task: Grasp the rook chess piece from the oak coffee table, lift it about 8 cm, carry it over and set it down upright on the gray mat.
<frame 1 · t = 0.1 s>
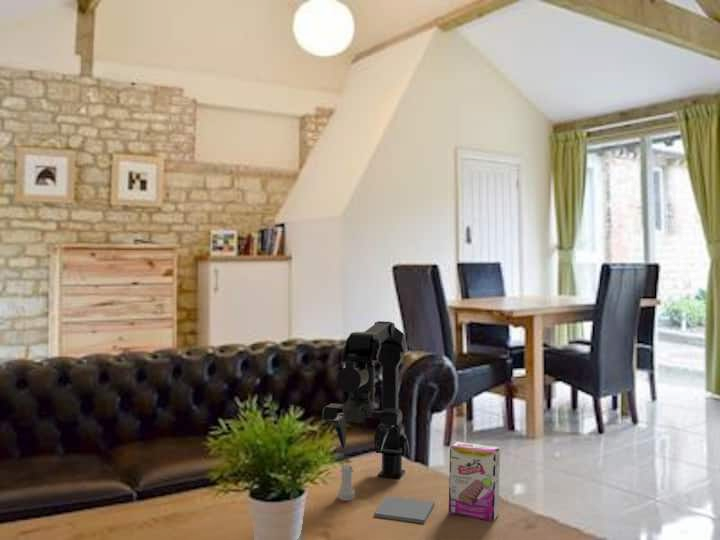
hand: (361, 449, 151), 14 cm above the table, fingers open, 9 cm apart
gray mat: (405, 510, 151), on the table
candy bar box: (473, 515, 149), on the table
rook chess piece: (346, 499, 159), on the table
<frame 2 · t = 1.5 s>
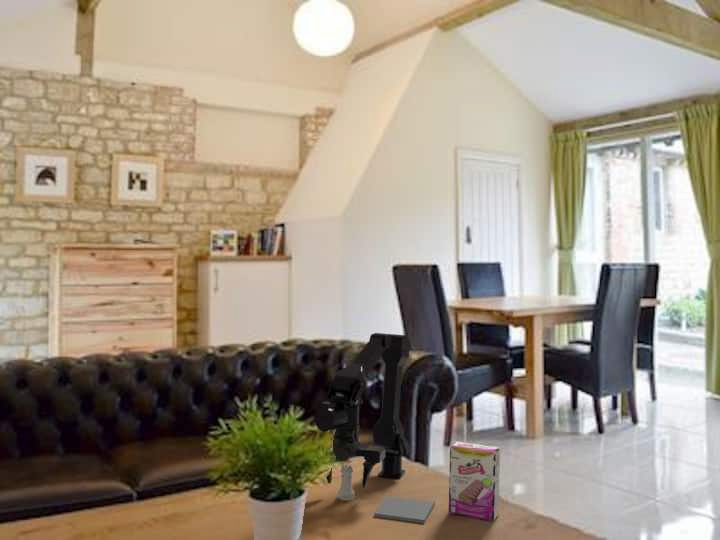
hand: (346, 485, 159), 3 cm above the table, fingers open, 9 cm apart
nothing on the table moved.
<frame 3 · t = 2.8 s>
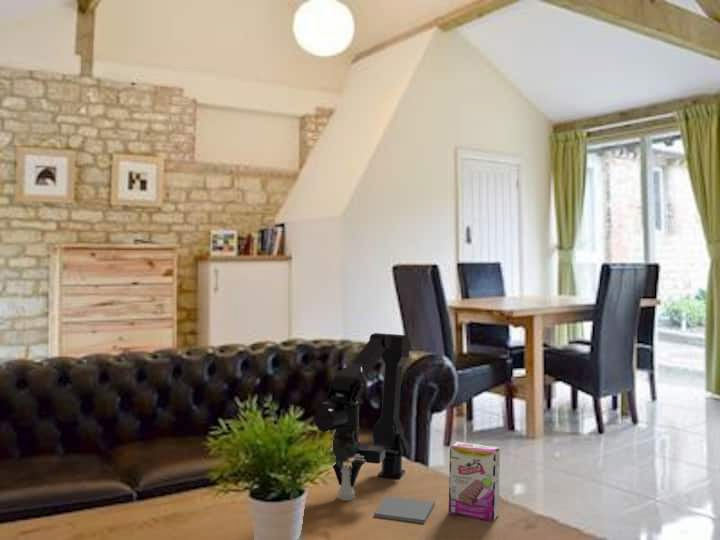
hand: (346, 485, 159), 3 cm above the table, fingers closed on rook chess piece, 3 cm apart
rook chess piece: (346, 499, 159), on the table, touching gripper
everything else where it was.
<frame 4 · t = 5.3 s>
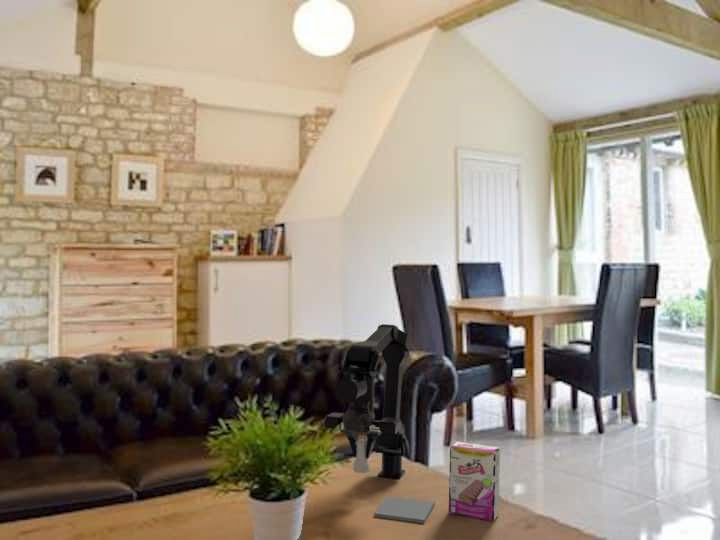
hand: (361, 457, 157), 11 cm above the table, fingers closed on rook chess piece, 3 cm apart
rook chess piece: (361, 471, 157), point 7 cm above the table, touching gripper
everything else where it was.
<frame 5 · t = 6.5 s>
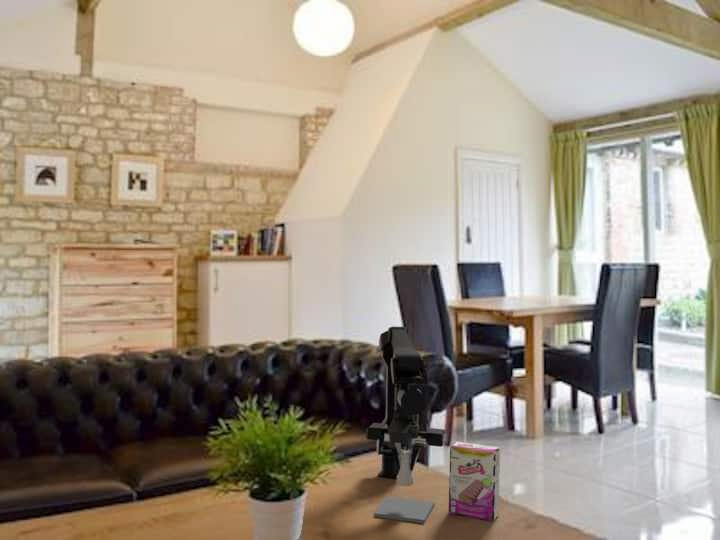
hand: (405, 469, 151), 10 cm above the table, fingers closed on rook chess piece, 3 cm apart
rook chess piece: (405, 484, 151), point 6 cm above the table, touching gripper
everything else where it was.
when the fingers open (5 cm above the table, at t = 7.8 s): rook chess piece drops 1 cm, resting on gray mat.
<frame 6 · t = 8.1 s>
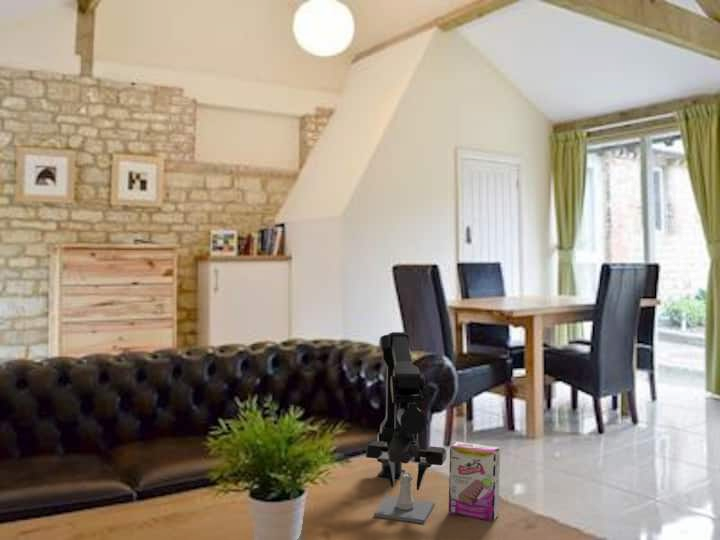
hand: (405, 488, 151), 5 cm above the table, fingers open, 6 cm apart
rook chess piece: (405, 508, 151), point 1 cm above the table, touching gray mat
everything else where it was.
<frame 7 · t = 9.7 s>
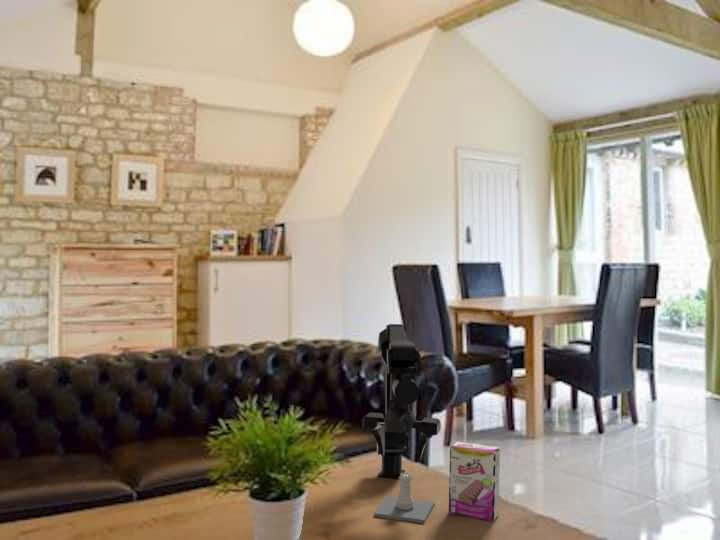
hand: (400, 458, 155), 11 cm above the table, fingers open, 9 cm apart
nothing on the table moved.
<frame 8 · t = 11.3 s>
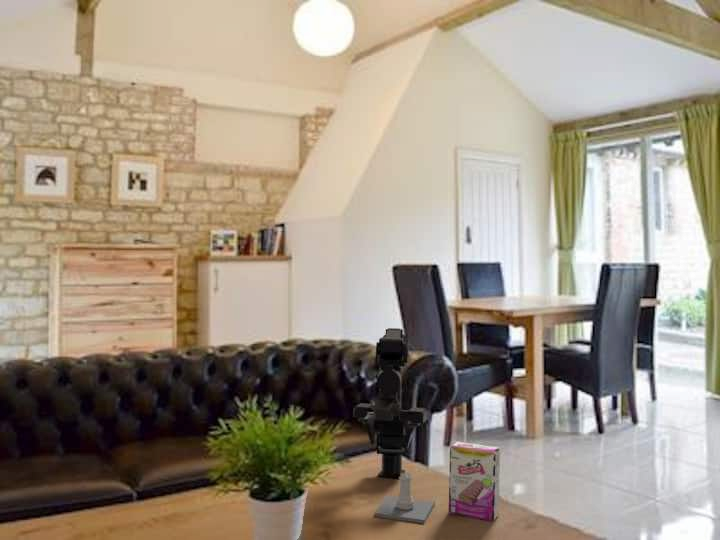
hand: (389, 446, 164), 12 cm above the table, fingers open, 9 cm apart
nothing on the table moved.
at the end: rook chess piece inside the target area on the gray mat (0.0 cm from its centre), point 0.6 cm above the gray mat's base; rook chess piece tilted 0°; the gripper is holding nothing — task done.
